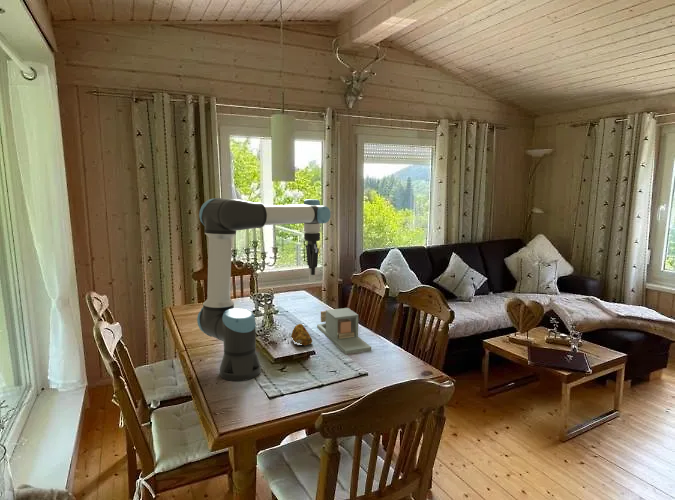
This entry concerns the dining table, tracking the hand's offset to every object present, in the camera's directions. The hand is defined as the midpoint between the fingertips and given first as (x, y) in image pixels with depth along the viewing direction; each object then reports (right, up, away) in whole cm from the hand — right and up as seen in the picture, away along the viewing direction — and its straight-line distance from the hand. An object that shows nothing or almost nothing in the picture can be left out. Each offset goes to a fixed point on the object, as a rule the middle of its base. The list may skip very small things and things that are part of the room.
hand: (312, 281), depth 204 cm
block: (+15, -23, -8) cm, 29 cm away
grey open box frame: (+11, -23, 0) cm, 26 cm away
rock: (-5, -27, -13) cm, 30 cm away
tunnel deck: (+14, -26, -7) cm, 30 cm away
